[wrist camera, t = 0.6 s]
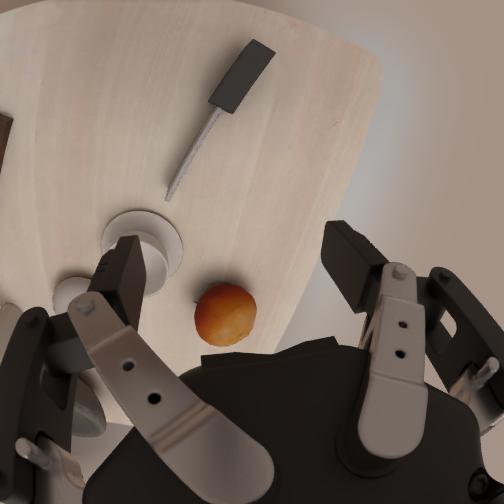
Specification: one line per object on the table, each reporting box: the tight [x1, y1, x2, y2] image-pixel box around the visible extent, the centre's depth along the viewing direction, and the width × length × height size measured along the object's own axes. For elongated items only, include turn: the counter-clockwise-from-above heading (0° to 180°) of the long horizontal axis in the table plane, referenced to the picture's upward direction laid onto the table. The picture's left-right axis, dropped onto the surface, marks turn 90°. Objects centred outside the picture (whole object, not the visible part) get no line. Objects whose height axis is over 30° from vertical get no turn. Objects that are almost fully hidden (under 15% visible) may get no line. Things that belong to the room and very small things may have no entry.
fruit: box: [194, 283, 257, 346], centre depth 34 cm, size 8×8×8 cm
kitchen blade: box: [165, 39, 276, 202], centre depth 23 cm, size 17×2×4 cm, turn 147°
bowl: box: [40, 367, 106, 437], centre depth 37 cm, size 23×22×10 cm
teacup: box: [101, 211, 183, 298], centre depth 29 cm, size 10×10×5 cm
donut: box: [52, 277, 91, 315], centre depth 32 cm, size 10×4×10 cm
